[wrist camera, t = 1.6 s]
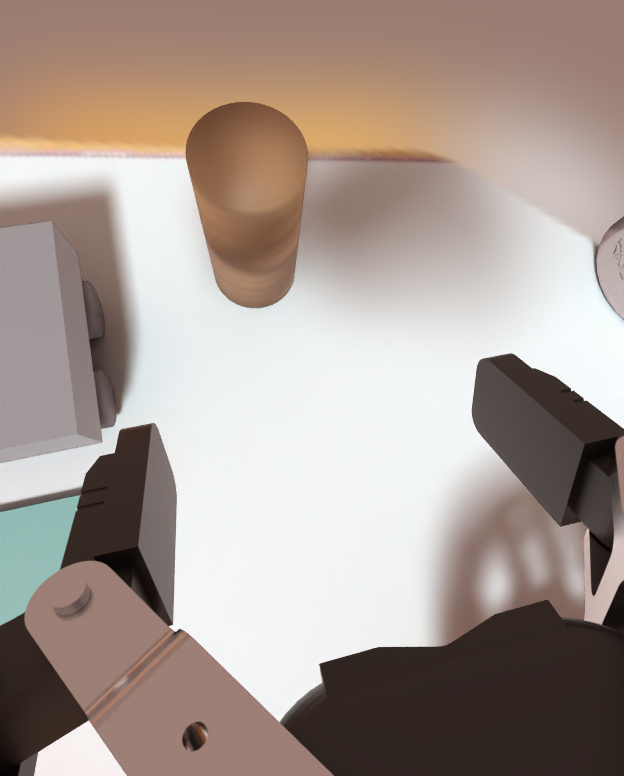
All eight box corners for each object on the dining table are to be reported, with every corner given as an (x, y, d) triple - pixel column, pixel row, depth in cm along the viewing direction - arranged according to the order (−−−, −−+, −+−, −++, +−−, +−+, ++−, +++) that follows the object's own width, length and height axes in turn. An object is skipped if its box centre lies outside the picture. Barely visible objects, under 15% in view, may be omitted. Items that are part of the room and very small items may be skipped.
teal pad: (117, 487, 25) (114, 487, 24) (141, 670, 23) (139, 673, 23) (-67, 527, 24) (-73, 527, 23) (-57, 724, 22) (-62, 728, 21)
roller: (285, 229, 29) (294, 96, 19) (301, 300, 28) (319, 197, 18) (208, 241, 28) (176, 109, 19) (222, 314, 27) (196, 215, 18)
